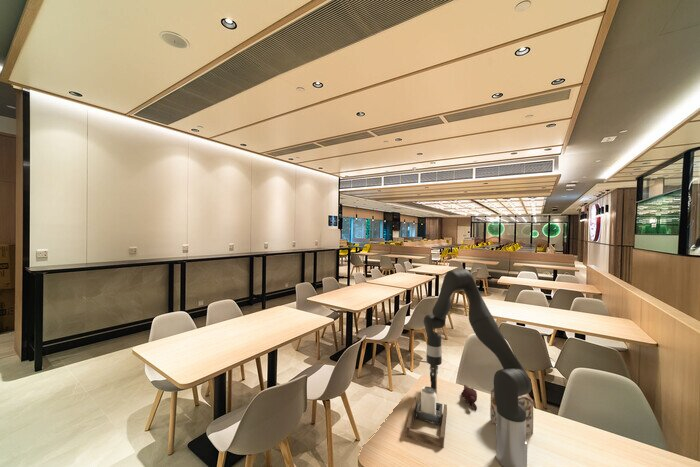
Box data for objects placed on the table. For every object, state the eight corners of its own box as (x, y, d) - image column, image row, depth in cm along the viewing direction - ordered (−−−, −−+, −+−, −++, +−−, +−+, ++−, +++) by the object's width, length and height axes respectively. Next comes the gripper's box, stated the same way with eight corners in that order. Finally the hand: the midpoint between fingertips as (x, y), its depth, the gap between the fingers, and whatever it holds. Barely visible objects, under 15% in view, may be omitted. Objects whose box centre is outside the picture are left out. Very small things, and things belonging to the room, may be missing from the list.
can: (437, 422, 120) (437, 394, 120) (422, 421, 120) (422, 393, 120) (433, 412, 126) (434, 386, 126) (419, 411, 127) (419, 385, 127)
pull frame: (444, 392, 141) (444, 373, 141) (440, 424, 117) (440, 401, 117) (423, 388, 145) (424, 369, 145) (415, 418, 121) (416, 395, 121)
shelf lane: (446, 413, 126) (446, 404, 126) (443, 447, 105) (443, 437, 105) (414, 405, 131) (415, 397, 131) (405, 436, 111) (406, 426, 111)
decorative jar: (511, 415, 125) (511, 376, 125) (534, 434, 113) (534, 390, 113) (489, 419, 122) (489, 379, 122) (510, 438, 110) (510, 394, 110)
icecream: (455, 380, 143) (464, 399, 128) (470, 377, 142) (481, 397, 127) (458, 392, 143) (468, 413, 128) (473, 390, 142) (484, 411, 127)
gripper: (440, 360, 134) (440, 395, 134) (442, 349, 147) (442, 382, 147) (424, 357, 137) (424, 392, 137) (428, 347, 150) (427, 379, 150)
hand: (433, 386), depth 142 cm, fingers closed on pull frame, 3 cm apart
